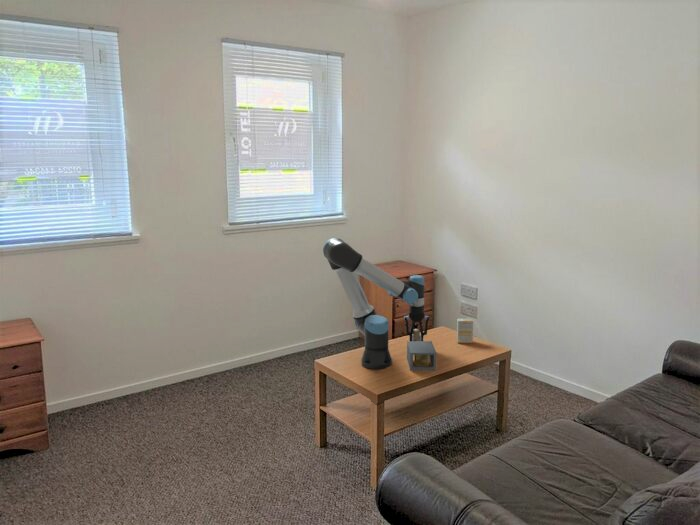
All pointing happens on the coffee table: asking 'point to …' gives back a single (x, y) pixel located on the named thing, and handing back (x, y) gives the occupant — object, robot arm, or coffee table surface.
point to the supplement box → (464, 330)
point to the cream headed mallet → (419, 359)
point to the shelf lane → (421, 353)
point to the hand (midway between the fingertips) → (416, 347)
